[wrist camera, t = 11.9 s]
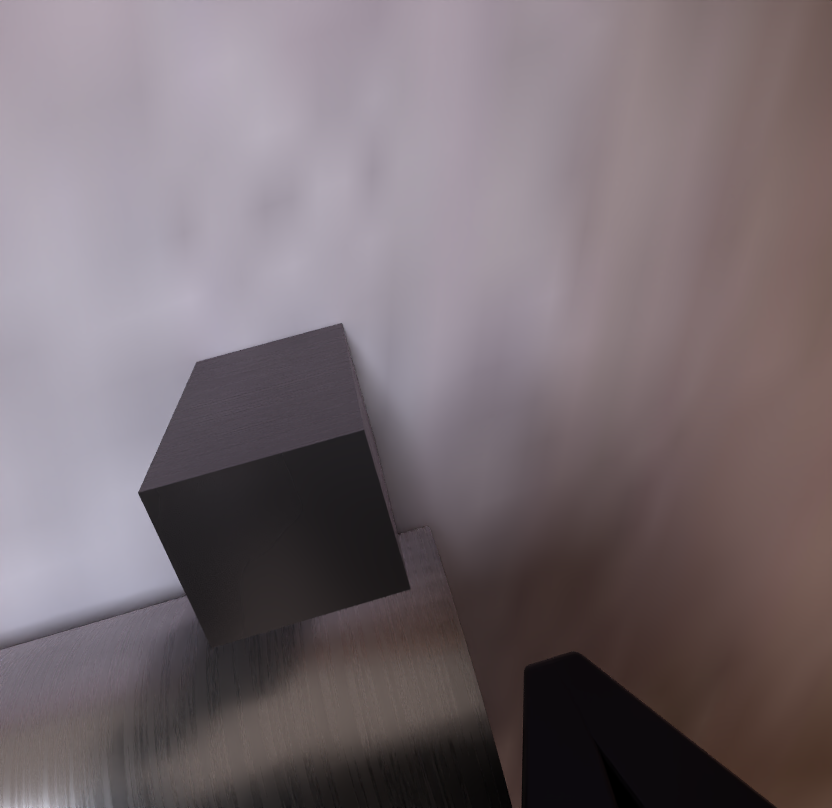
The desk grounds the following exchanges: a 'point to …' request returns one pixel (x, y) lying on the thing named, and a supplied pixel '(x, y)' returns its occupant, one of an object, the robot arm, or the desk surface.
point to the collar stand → (274, 489)
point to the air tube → (255, 710)
